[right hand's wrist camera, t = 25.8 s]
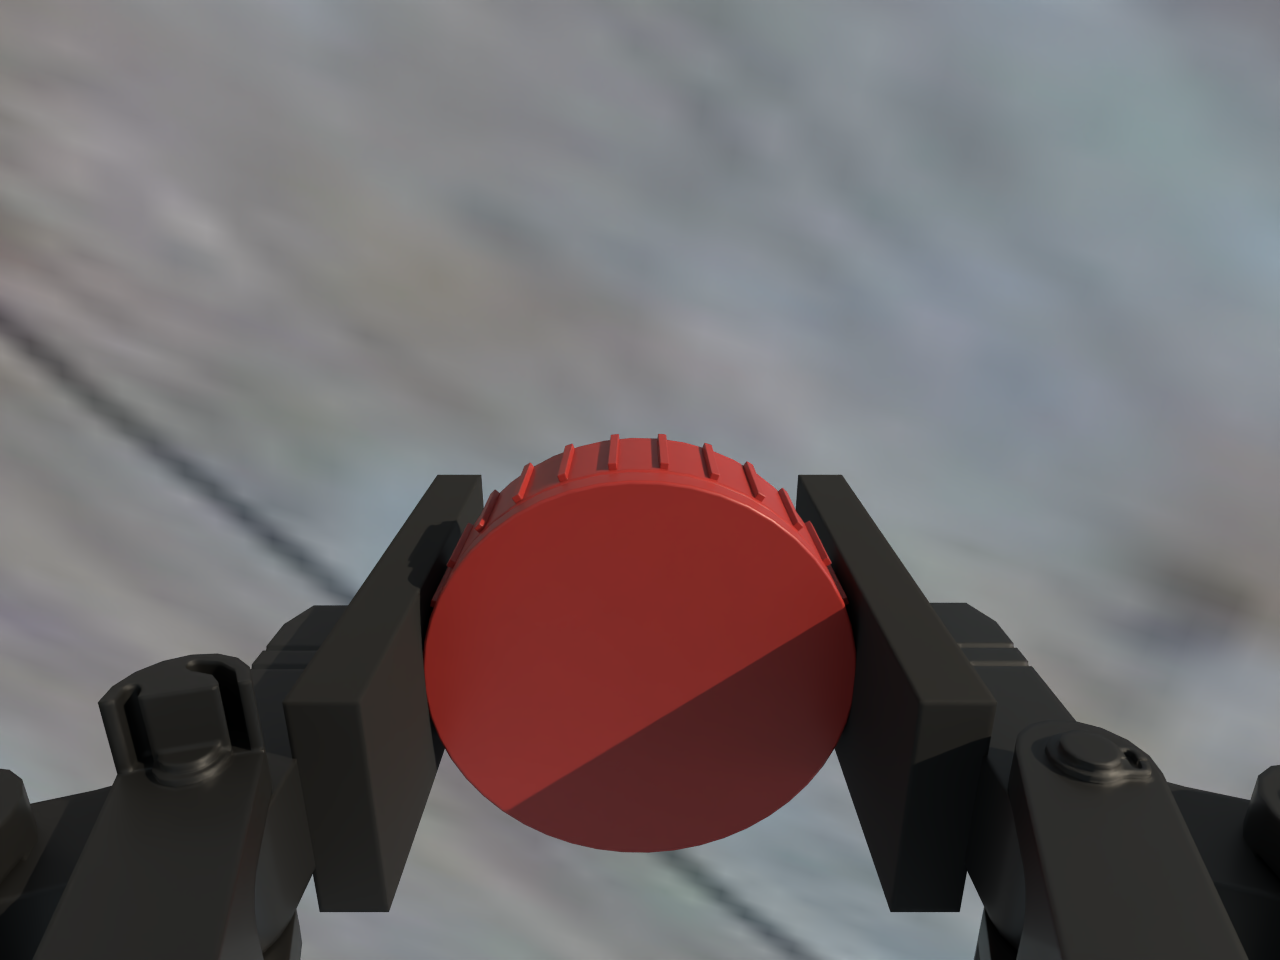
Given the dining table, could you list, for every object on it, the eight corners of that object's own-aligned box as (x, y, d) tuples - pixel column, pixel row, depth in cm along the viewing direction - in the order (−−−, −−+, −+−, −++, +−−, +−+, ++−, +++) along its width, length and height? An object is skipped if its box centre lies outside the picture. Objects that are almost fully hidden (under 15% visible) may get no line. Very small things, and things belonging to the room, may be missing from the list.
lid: (478, 392, 11) (448, 429, 9) (883, 478, 11) (925, 529, 10) (424, 736, 13) (391, 819, 11) (772, 799, 13) (791, 888, 12)
